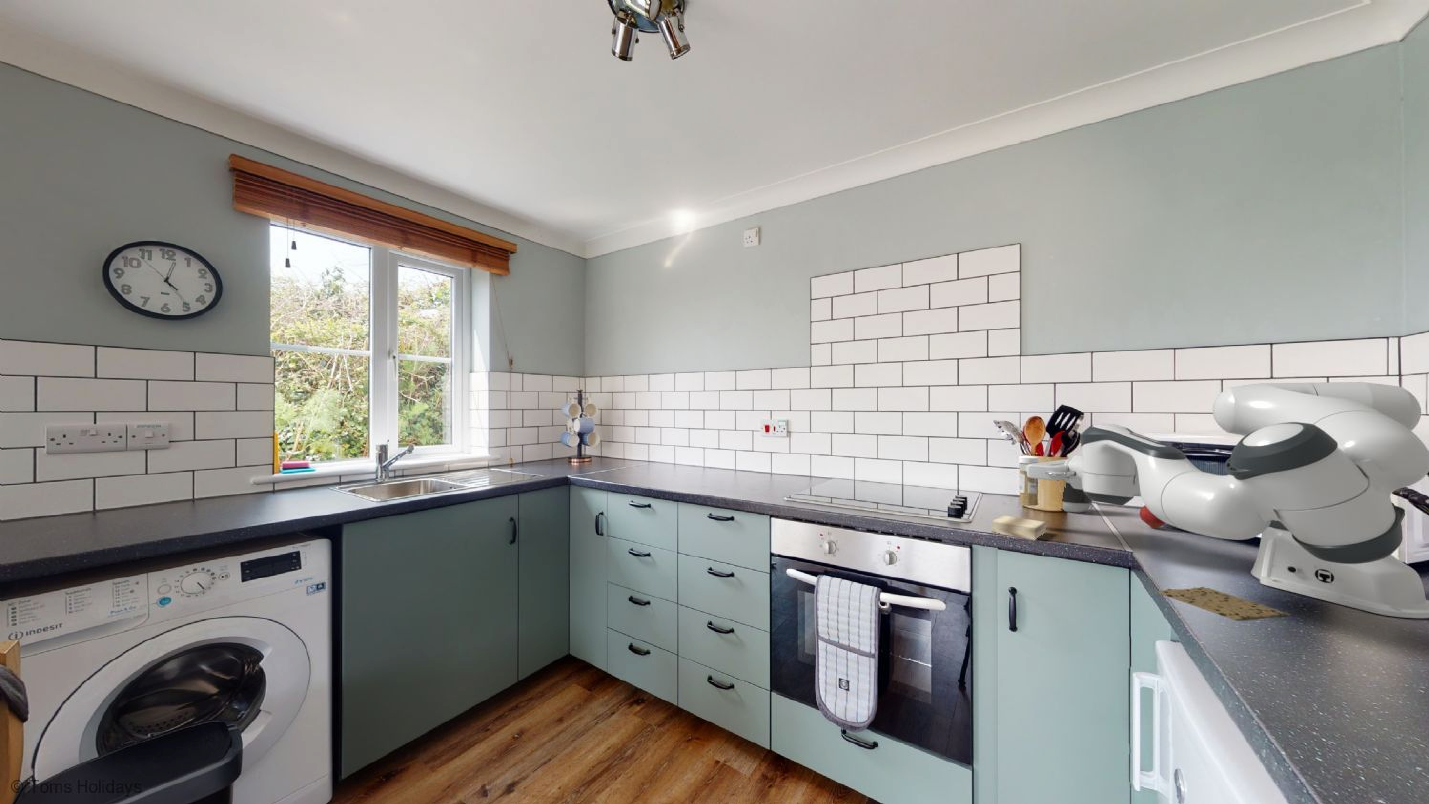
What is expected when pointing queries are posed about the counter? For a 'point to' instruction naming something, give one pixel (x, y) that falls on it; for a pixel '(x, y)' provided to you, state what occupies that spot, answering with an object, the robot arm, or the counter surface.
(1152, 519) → the onion
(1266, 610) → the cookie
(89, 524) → the counter surface
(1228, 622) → the counter surface
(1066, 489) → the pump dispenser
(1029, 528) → the block
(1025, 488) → the sprinkles bottle
